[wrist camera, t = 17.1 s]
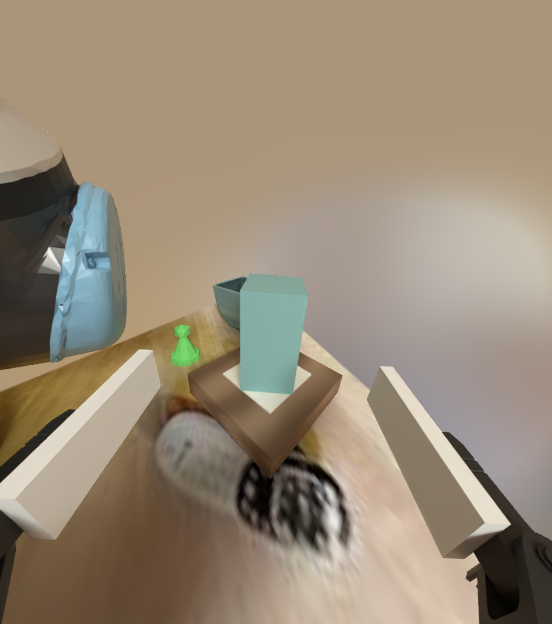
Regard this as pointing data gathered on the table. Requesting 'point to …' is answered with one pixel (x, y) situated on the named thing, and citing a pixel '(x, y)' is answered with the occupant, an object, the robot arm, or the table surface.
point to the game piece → (184, 348)
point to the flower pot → (229, 300)
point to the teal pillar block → (271, 332)
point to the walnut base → (264, 407)
